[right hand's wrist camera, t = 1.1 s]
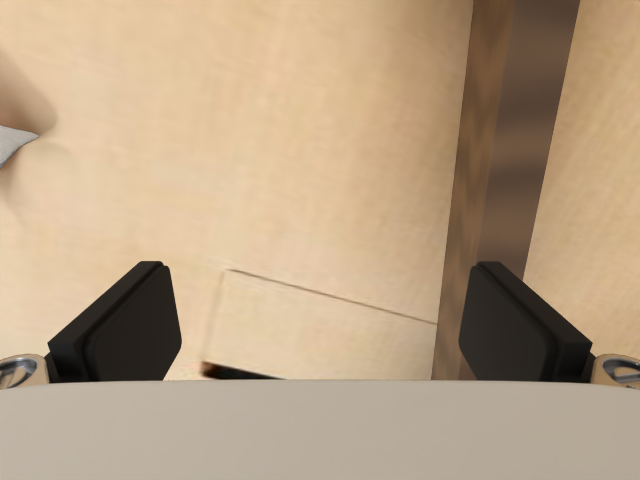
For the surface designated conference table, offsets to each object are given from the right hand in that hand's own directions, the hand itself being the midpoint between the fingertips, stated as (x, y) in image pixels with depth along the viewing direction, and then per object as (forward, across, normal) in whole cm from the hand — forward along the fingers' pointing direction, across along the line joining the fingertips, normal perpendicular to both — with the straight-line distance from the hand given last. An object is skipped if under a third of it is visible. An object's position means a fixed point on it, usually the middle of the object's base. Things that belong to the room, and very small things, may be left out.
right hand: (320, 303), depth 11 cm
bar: (+26, -16, +7) cm, 31 cm away
